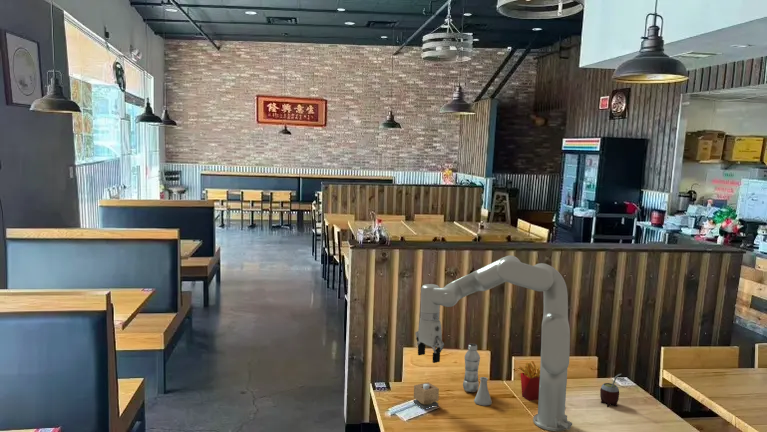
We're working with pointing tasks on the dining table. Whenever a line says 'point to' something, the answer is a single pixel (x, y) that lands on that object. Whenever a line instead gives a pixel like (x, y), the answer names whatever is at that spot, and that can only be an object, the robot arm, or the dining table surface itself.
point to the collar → (426, 393)
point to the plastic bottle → (471, 369)
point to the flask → (483, 393)
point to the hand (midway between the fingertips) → (428, 358)
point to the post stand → (424, 406)
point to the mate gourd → (609, 393)
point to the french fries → (530, 382)
